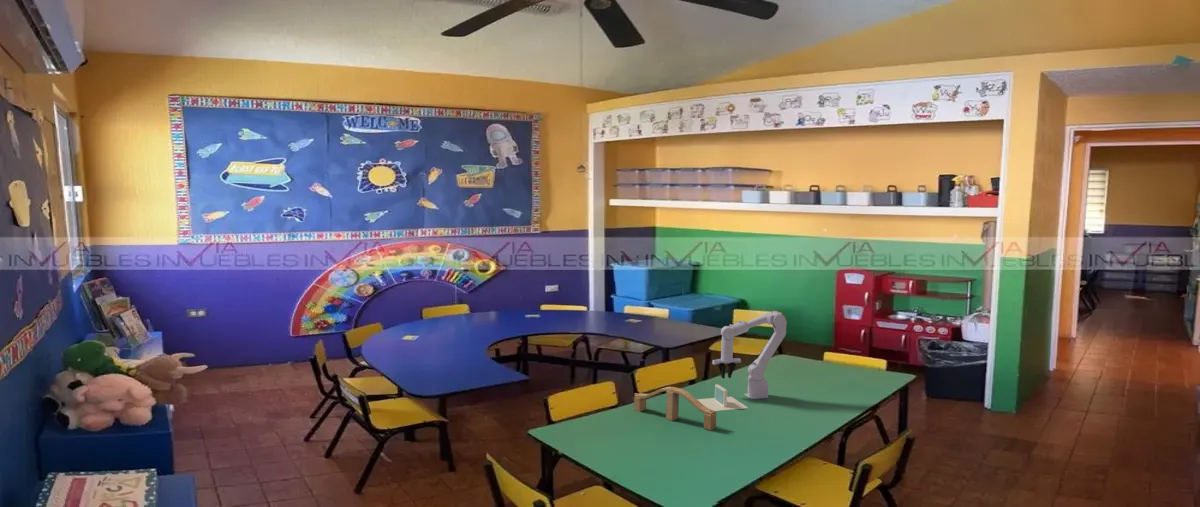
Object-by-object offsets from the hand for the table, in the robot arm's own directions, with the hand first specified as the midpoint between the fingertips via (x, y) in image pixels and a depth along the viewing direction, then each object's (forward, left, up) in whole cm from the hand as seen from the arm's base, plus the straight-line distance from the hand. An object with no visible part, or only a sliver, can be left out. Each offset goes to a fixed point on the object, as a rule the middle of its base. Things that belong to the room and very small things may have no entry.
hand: (726, 377), depth 352 cm
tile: (+8, +11, -9) cm, 16 cm away
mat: (+9, +11, -9) cm, 17 cm away
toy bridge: (+38, +24, -10) cm, 46 cm away
